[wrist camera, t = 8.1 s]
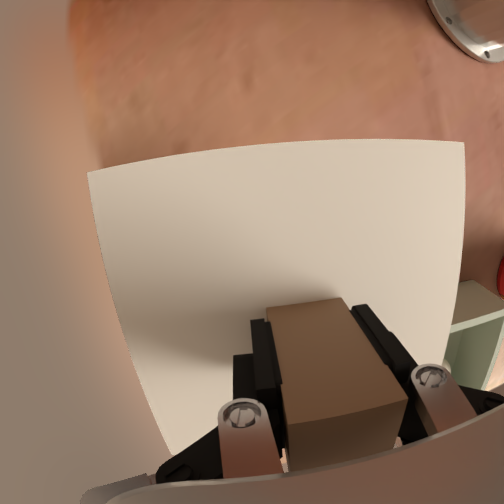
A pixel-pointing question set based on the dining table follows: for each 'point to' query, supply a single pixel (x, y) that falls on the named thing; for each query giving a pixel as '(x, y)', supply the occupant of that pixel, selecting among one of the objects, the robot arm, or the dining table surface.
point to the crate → (474, 335)
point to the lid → (284, 279)
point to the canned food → (501, 279)
